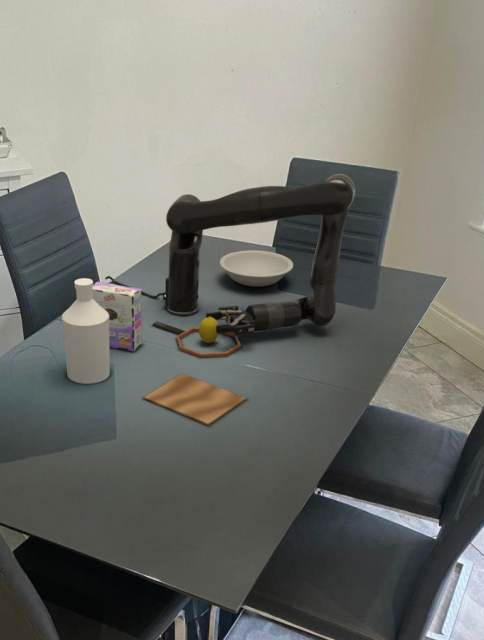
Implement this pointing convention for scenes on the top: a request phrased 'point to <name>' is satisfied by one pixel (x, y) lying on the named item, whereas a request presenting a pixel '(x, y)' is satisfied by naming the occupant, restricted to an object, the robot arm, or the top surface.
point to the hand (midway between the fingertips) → (211, 323)
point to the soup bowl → (256, 267)
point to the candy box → (121, 314)
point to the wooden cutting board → (195, 399)
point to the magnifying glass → (183, 333)
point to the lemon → (208, 330)
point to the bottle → (86, 337)
